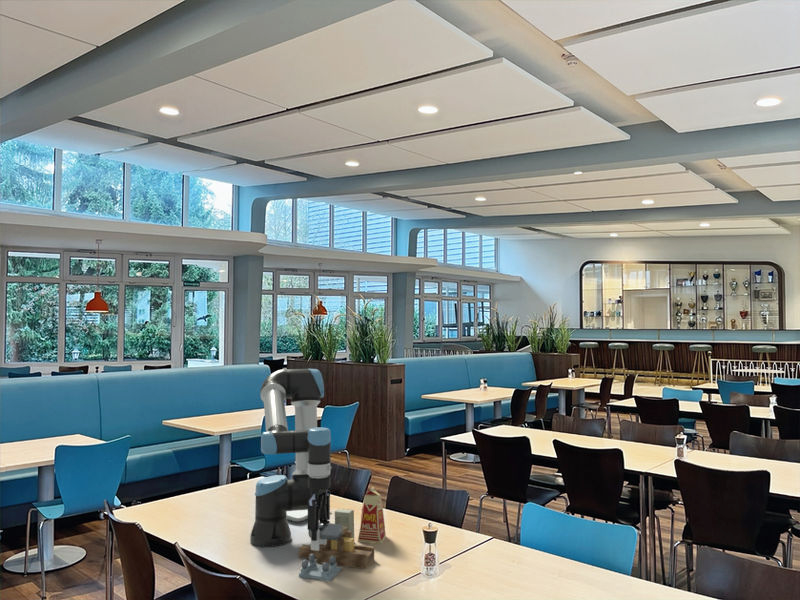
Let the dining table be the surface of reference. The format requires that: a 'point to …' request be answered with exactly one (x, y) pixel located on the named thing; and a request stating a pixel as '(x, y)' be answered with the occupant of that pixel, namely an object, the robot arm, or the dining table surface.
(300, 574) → the cradle
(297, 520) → the salad plate
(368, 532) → the milk carton
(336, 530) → the silver metal cylinder
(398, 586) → the dining table surface
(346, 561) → the wooden fixture
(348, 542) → the yellow block
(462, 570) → the dining table surface
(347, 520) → the skincare box
